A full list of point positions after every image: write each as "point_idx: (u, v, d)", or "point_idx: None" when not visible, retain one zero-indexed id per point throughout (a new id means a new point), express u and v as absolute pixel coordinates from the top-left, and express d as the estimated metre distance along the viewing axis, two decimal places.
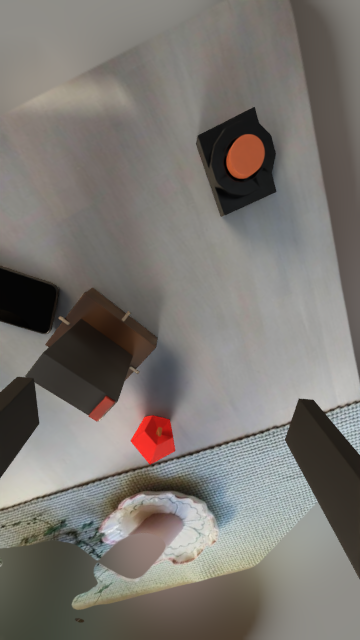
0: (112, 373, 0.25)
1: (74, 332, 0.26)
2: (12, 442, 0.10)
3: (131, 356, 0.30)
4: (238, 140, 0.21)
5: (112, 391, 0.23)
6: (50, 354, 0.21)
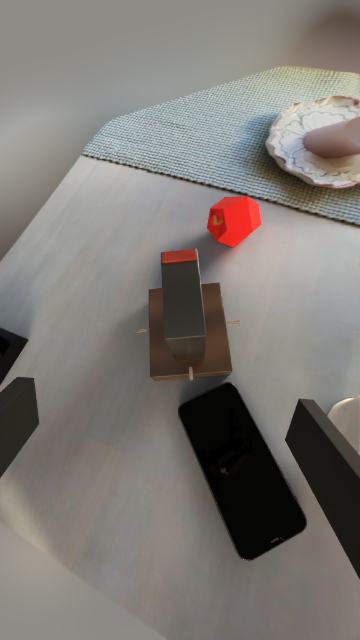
0: None
1: None
2: (12, 442, 0.10)
3: None
4: None
5: None
6: (164, 333, 0.18)
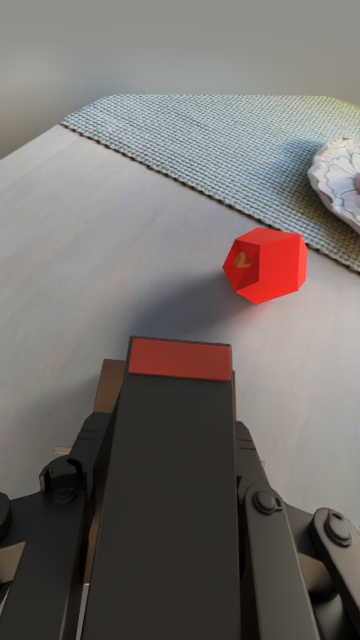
0: None
1: None
2: None
3: None
4: None
5: None
6: None
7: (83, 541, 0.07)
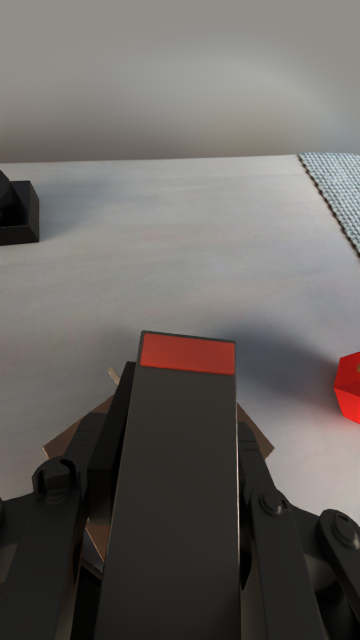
0: None
1: None
2: None
3: None
4: None
5: None
6: None
7: (77, 542, 0.07)
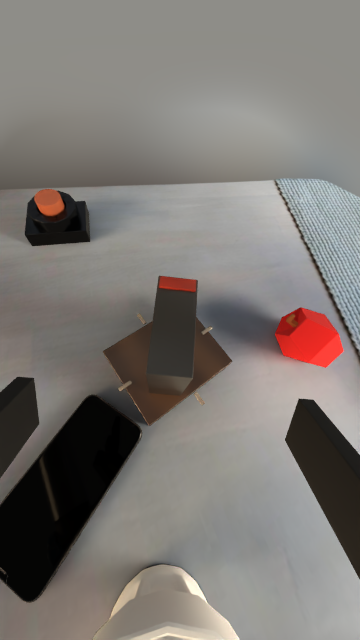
0: None
1: None
2: (12, 442, 0.10)
3: None
4: (35, 199, 0.30)
5: None
6: None
7: None
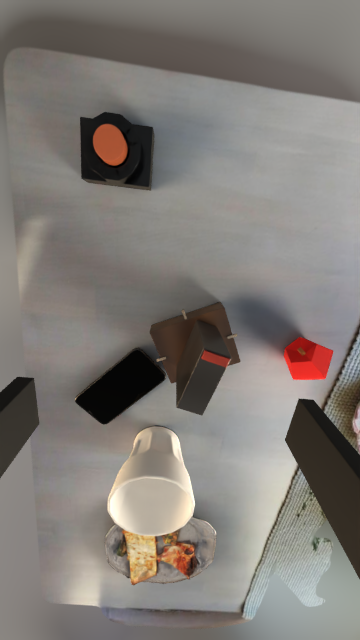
0: (195, 347, 0.28)
1: (177, 376, 0.32)
2: (12, 442, 0.10)
3: (196, 322, 0.33)
4: (95, 145, 0.24)
5: (200, 351, 0.25)
6: (178, 402, 0.27)
7: None
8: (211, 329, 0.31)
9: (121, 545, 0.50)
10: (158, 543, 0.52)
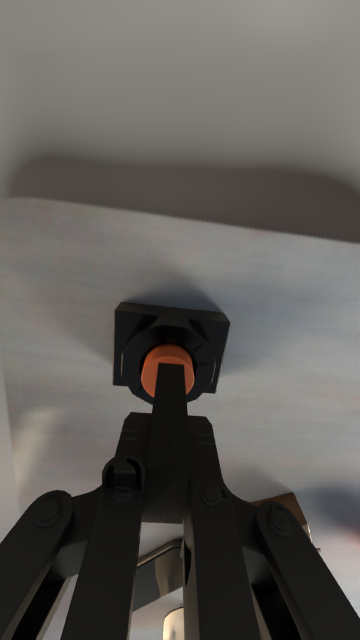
0: None
1: None
2: None
3: None
4: (144, 383, 0.14)
5: None
6: None
7: None
8: None
9: None
10: None
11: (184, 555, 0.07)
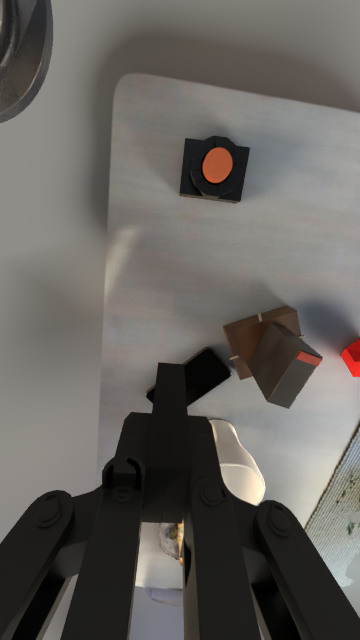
0: (281, 347, 0.31)
1: (255, 373, 0.35)
2: None
3: (271, 324, 0.36)
4: (205, 166, 0.27)
5: (293, 351, 0.28)
6: (268, 396, 0.30)
7: None
8: (287, 331, 0.34)
9: (173, 529, 0.54)
10: None
11: (184, 555, 0.07)
